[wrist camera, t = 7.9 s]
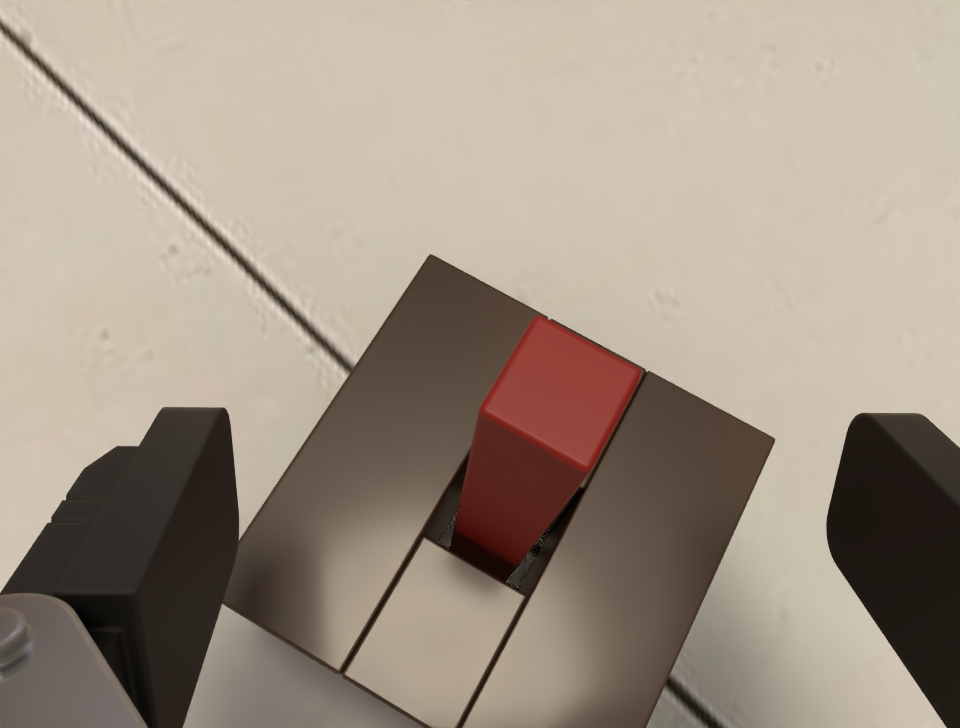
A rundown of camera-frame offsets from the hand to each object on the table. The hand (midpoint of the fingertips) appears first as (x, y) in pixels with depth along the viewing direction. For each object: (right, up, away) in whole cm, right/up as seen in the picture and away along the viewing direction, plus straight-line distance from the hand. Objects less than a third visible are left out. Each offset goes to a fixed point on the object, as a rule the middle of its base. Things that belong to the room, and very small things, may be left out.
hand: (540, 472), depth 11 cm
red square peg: (-1, -3, +9) cm, 10 cm away
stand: (-1, -3, +9) cm, 10 cm away
